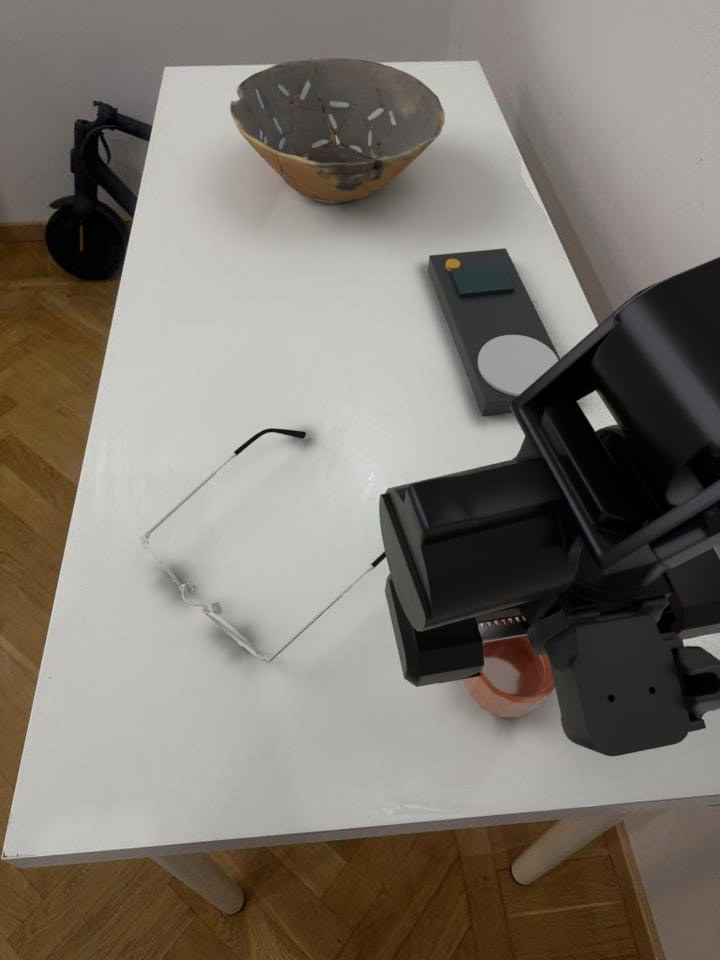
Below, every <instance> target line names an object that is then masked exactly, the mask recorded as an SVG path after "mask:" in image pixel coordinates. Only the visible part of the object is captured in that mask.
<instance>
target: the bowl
mask: <svg viewBox="0 0 720 960" xmlns="http://www.w3.org/2000/svg"><path fill="white" fill-rule="evenodd" d="M236 94H237V96H238V98H239V99H237V100H231V101H230V103H229V112H230V115H231V117H232V120H233V122H234V124H235V126H236V128H237V130H238V131H239V134H240V135H241V136H242V137H243V138H244V139H245V140H246V141H247V142H248V144H249V145H250V146H251V147H252V148H253V149H254V150H255V152H256V153H257V154H259V156H260V157H261V158H262V159H263V160H264V161H265V162H266V163H267V165H269V166H270V167H271V168H272V169H273V170H274V171H275V172H276V173H277V174H278V175H279V176H280V177H281V178H282V180H283V181H284V183H286V184H287V185H288V186H289V187H290V188H291V189H293V190H294V191H295V192H297V193H299V194H300V195H302V196H304V197H306V198H308V199H310V200H312V201H314V202H317V203H318V202H319V203H324V204H332V205H334V204H335V205H337V204H342V203H347V202H354V201H358V200H361V199H363V198H367V197H368V196H370V195H372V194H375V193H376V192H378V191H379V190H381V189H382V188H383V187H385V186H386V185H388V184H389V183H390V182H392V181H393V180H394V179H396V178H397V177H398V176H399V175H400V174H401V173H402V172H403V171H404V170H406V168H407V167H408V166H409V165H411V164H412V163H413V162H414V161H415V160H416V159H417V158H418V157H419V156H420V155H422V153H424V151H425V150H426V149H427V148H428V147H429V146H430V145H431V144H432V143H433V142H434V141H435V140H436V139H437V138H439V136H440V135H441V133H442V130H443V127H444V125H445V120H446V115H445V114H446V113H445V110H444V108H443V106H442V103H441V100H440V98H439V96H438V95H437V94H436V93H435V92H434V91H432V89H431V88H430V87H429V86H428V85H427V84H425V82H423V81H421V80H420V79H418V78H417V77H415V76H414V75H412V74H411V73H408V72H406V71H404V70H401V69H398V68H397V67H393V66H391V65H386V64H383V63H381V62H376V61H371V60H363V59H356V58H343V57H342V58H341V57H333V58H332V57H331V58H328V57H327V58H317V59H312V58H304V59H303V58H302V59H297V60H296V59H295V60H290V61H289V60H288V61H283V62H280V63H278V64H274V65H272V66H269V67H268V68H266V69H264V70H260V71H257V72H255V73H254V74H251V75H250V76H248V77H247V78H245V79H244V80H242V81H241V83H240V84H239V85H238V86H237V88H236ZM337 140H338V141H339V143H337Z"/></svg>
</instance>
